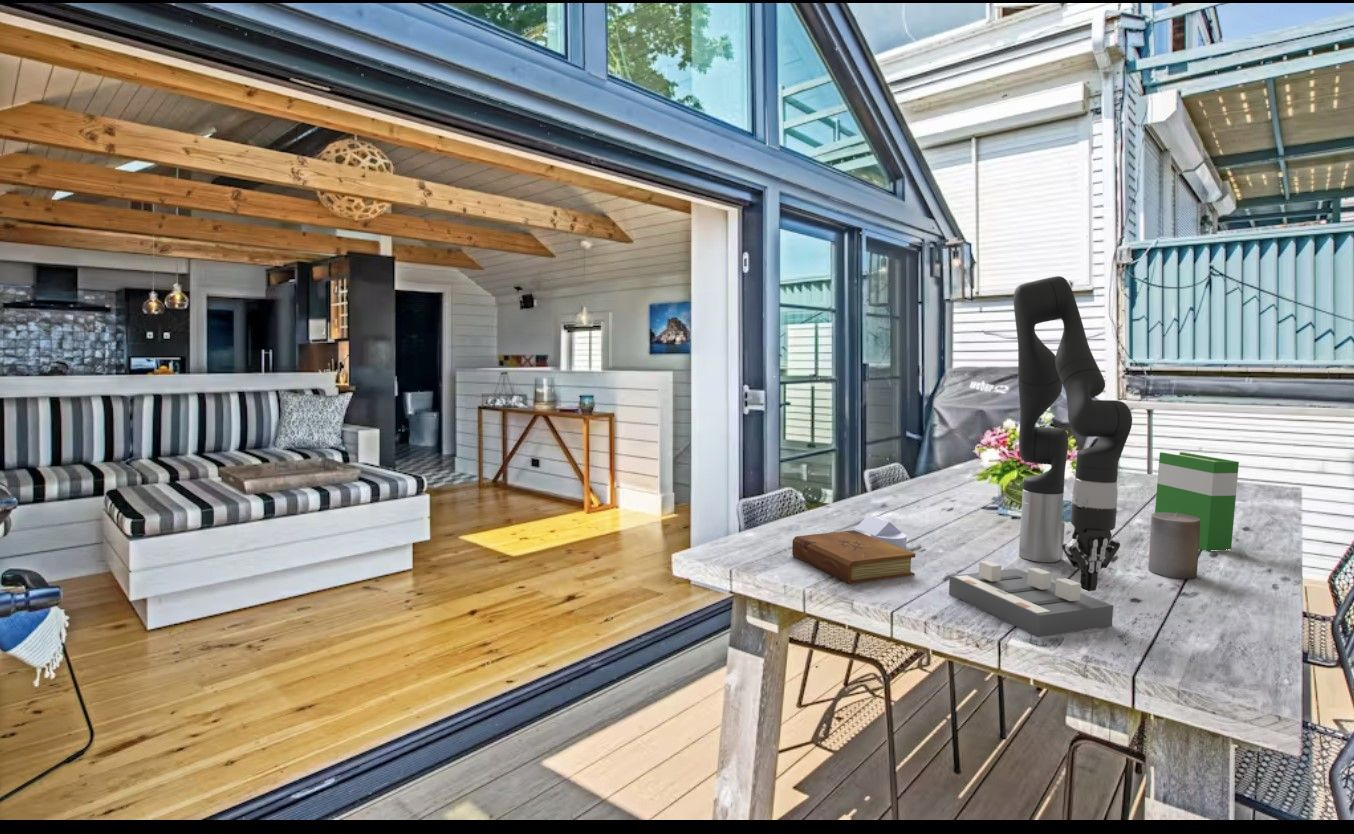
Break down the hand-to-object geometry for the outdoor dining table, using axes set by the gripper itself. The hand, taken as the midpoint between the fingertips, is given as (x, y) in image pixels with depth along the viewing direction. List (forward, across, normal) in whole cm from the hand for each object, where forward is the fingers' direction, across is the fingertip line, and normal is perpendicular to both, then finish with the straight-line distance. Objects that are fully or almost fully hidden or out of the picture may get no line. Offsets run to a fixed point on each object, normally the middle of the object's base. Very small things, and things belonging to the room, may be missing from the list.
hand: (1088, 589), depth 141 cm
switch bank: (+6, +8, -7) cm, 12 cm away
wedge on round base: (+6, +7, -57) cm, 58 cm away
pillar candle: (+6, -45, -16) cm, 48 cm away
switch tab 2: (+1, +5, -7) cm, 9 cm away
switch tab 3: (+1, +5, 0) cm, 5 cm away
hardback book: (+6, -78, -35) cm, 86 cm away
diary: (+6, +26, -43) cm, 51 cm away
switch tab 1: (+1, +11, -14) cm, 18 cm away
